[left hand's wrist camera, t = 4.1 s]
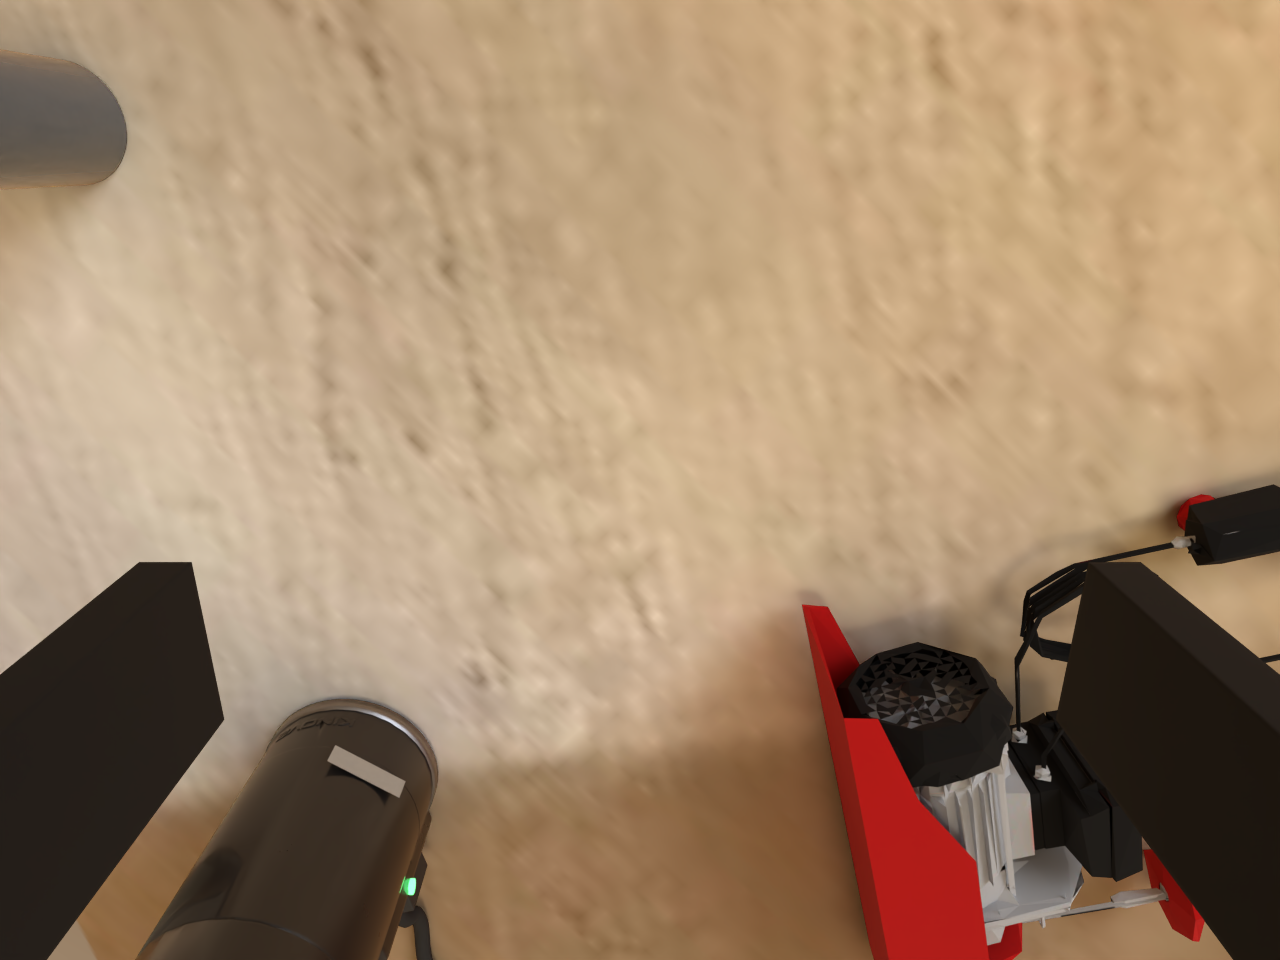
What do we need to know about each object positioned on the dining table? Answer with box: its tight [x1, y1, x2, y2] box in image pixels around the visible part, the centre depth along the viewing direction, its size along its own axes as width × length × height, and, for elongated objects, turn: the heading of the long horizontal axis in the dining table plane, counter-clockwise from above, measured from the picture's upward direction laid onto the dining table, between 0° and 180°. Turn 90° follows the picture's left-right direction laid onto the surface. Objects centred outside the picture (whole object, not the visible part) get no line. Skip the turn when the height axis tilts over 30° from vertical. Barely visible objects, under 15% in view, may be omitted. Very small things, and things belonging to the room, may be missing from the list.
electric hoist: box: [802, 485, 1280, 960], centre depth 43 cm, size 10×27×30 cm
